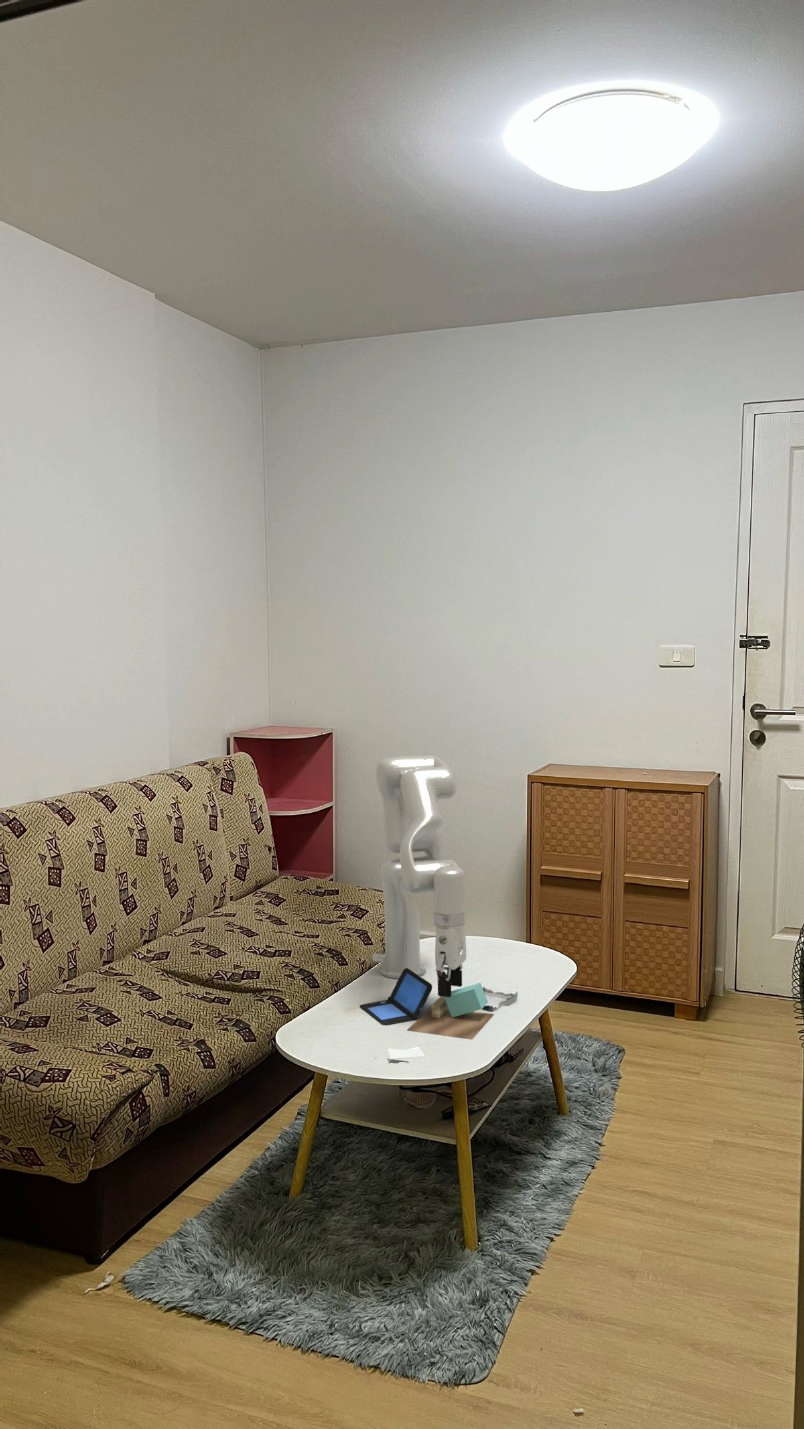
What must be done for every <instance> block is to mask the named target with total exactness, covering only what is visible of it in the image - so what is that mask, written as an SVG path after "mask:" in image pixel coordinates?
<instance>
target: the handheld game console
mask: <svg viewBox="0 0 804 1429" xmlns="http://www.w3.org/2000/svg"><path fill="white" fill-rule="evenodd" d="M397 979H398V980H397V981H396V983H395V985H394V988H393V990H392V991H391V993H390V996H388V997H387V999H384V1000H379V1001H375V1002H374V1001H373V1002H369V1003H362V1004H360V1005H359V1009H361V1010H362V1011H364V1012H365V1013H366V1014H367V1015H369V1016H370V1017H371V1018H373V1019H374V1020H375V1021H376V1022H377V1023H379V1024H380V1025H382V1026H391V1025H398V1024H403V1023H408V1022H416V1021H417V1020H418V1019H419V1018H418V1017H420V1014H421V1012H422V1010H423V1008H425V1007H424V1006H425V1004H426V1002H427V1000H428V998H429V997H430V995H431V993H432V990H433V984H432V983H431V982H429V981H427V980H426V979H424V978H423V977H422V976H418V975H417V974H416V973H414V972H413V971H411V970H410V969H408V968H405V969H404V970H403V972H402V974H401V975H400V977H399V978H397Z"/></svg>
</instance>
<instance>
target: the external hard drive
mask: <svg viewBox="0 0 804 1429" xmlns="http://www.w3.org/2000/svg"><path fill="white" fill-rule="evenodd" d="M387 1051H388V1056H389V1058H386V1059H387V1062H388V1064H389V1065H390V1063H393V1064H400V1063H399V1062H406V1063H408V1060H401V1059H408V1058H409V1059H410V1058H412V1059H413V1058H422V1057H423V1058H424V1057H425V1054H424V1051H422V1049H421V1047H420V1046H419V1045H418V1046H415V1047H412V1048H407V1049H395V1048H389V1047H388V1050H387ZM399 1059H400V1060H399Z"/></svg>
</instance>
